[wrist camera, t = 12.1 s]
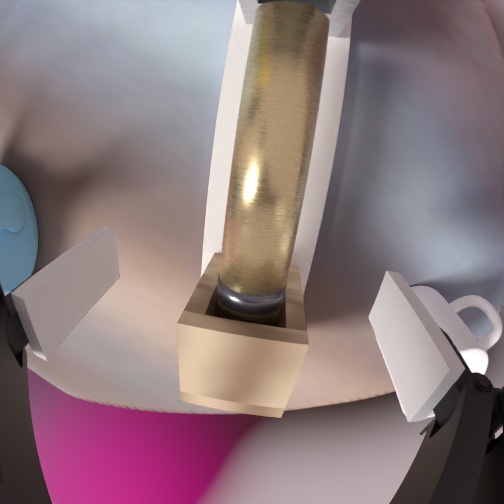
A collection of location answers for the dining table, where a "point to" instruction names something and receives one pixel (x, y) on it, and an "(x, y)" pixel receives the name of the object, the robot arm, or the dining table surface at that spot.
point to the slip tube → (271, 159)
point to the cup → (459, 327)
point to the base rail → (320, 152)
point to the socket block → (240, 351)
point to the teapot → (16, 231)
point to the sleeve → (331, 3)
